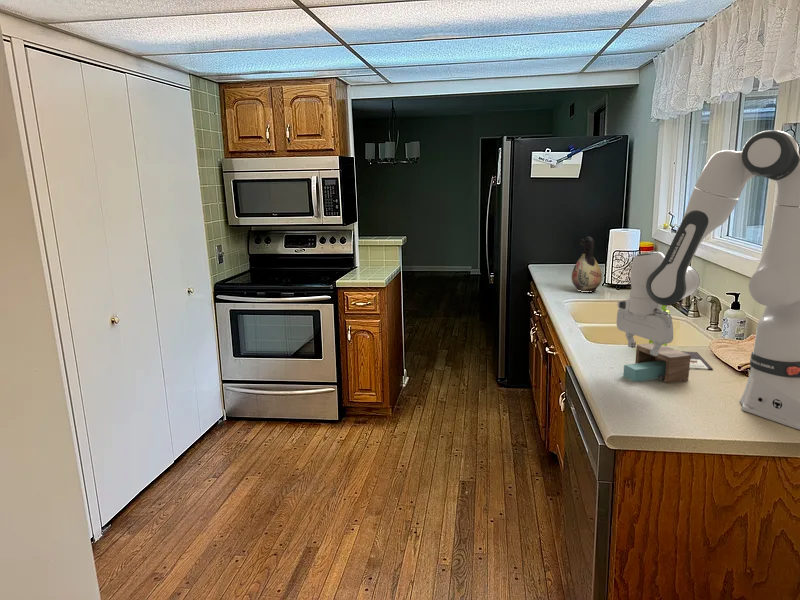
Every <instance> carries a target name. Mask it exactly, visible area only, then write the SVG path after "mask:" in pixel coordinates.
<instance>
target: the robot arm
mask: <svg viewBox="0 0 800 600" xmlns="http://www.w3.org/2000/svg"><path fill="white" fill-rule="evenodd" d="M754 177H762V178H766V179H769V180H771V181H776V184H777V194H776V200H775V206H774V211H773V218H772V224H771V228H770V233H769V237H768V240H767V243H766V246H765V248H764V251H763V253H762V256H761V258H760V261H759V263H758V266H757V267H756V270H755V271H754V273H753V274H752V275H751V277H750V279H749V283H748V291H749V292H748V293H749V294H750V296H751V297H752V299H753V300H754V301H755V302H757V304H759V305H763V306H765V308H764V310H763V313H762V314H761V317H760V318H759V320H758V322H757V325H756V329H755V330H756V332H755V338H754V345H753V350H752V351H751V354H750V359H749V361H750V362H749V366H750V371H749V375H748V379H747V381H746V385H745V388H744V391H743V394H742V395H741V398H740V399H739V402H740V404H741V405H742V406H741V410H742V411H743V412H746V413H750V414H752V415H755V416H758V417H760V418H761V417H762V418H765V419H766V420H770V421H773V422H775V423H778V424H782V425H784V426H788V427H790V428H793V429H796V430H800V144H799V142H798V141H797V140H796V138H794V137H793V136H792V135H791V134H789V133H788V132H785V131H781V130H774V129H770V130H768V129H767V130H763V131H759V132H757V133H755V134H754V135H752V136H751V137H750V138H749V139H748V140H747V141H746V142H745V144H744V146H743V147H742V150H741V151H736V150H733V149H731V150H729V149H728V150H727V149H725V150H720V151H717V152H715V153H713V154H712V155H711V157H709V160H708V161H707V163H706V165H704V168H703V170H702V171H701V173H700V175H699V177H698V179H697V181H696V183H695V186H694V188H693V191H692V193H691V196H690V198H689V201H688V204H687V206H686V210H685V212H684V215H683V218H682V220H681V223H680V225H679V227H678V229H677V231H676V233H675V234H674V237H673V239H672V240H671V244H670V245H669V247H668V250H667V251H666V254H665V255H664V253H662V252H661V251H648V252H647V251H646V252H643V253H638V254H636V255H635V257H633V260H632V263H631V270H630V286H631V287H630V288H631V290H630V292H629V298H628V299H623V300H618V301H617V304H616V305H617V309H618V310H617V312H616V328H617V329H618V331H621V332H624V333H625V338H626V340H627V347H628V348H631V349H635V348H637V341H635V338H634V336H636V337H641V338H644V339H646V340H648V341H649V340H652V341H653V344H654V347H653V349H650V354H651V355H653V356H657V355H658V352H659V349H660V347H661V346H662V344H666V343H667V344H670V343H672V342H673V340H674V322H673V317H672V316H671V313H670V314H669V313H668V312H667V311H662V310H661V305H666V306H667V307H669V306H673V305H675V304H677V303H678V302H680V301H681V300H682V299H684V298H685V299H686V298H687V297H689V296H691V295H693V294H694V293H695V292H696V291H697V290H698V288H699V286H700V275H699V273H698V271H696V269H695V268H694V267H692V266H690V265H691V263H692V261H693V259H694V257H695V255H696V252H697V250H698V248H699V247H700V245H701V243H703V241H704V239H705V238H706V237H708V235H710V233H712V232H713V231H714V230H716V229H717V228H720V226H722V225H723V224H725V223H726V221H727V220H728V219H729V217H730V215H731V214H732V213H733V211H734V209H735V208H736V205H737V203H738V200H739V199H740V197H741V194H742V192H743V190H744V188H745V186H746V184H747V183H748V182H749V181H750V180H751V179H752V178H754ZM668 315H669V316H668Z"/></svg>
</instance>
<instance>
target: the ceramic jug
mask: <svg viewBox="0 0 800 600" xmlns="http://www.w3.org/2000/svg"><path fill="white" fill-rule="evenodd" d="M579 244H581V245H582V246H583V253H582V254H581V256H580V257H579V258H578V260H577V262H576V263H575V265H574V267H573V269H572V272H571V282H572V284H573V286H574V287H575V288H576V290H577V289H578V290H581V291H589V292H590V291H596V292H597V288H599V286H601V285H600V284H601V282H602V280H603V275H602V273H603V272H602V270H601V267H600V265H599V263H598V262H597V260H596V258H595V257H594V250H595V249H594V248H595V241H594V239H593V237H592V236H586V237H585V238H581V239H580V240H579ZM578 290H577V291H578Z"/></svg>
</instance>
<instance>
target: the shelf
mask: <svg viewBox="0 0 800 600" xmlns="http://www.w3.org/2000/svg"><path fill="white" fill-rule="evenodd" d="M653 347H654V344H653V343H649V342H648V343H642V344H636V347H635V348H636V350H635V352H636V353H635V363H644V362H652V361H660V360H662V361H664V362H666V371H665V375H662V376H659V378H658V380H659V381H664V383H666V384H672V383H680V382H688V381H689V376H690V369H689V368H690V358H691V355H689V354H686V353H684V352H681V350H678V349H676V348H672V347H669V346H665V345H662V346H661V347H660V349H659V352H658V355H657V356H653V355H651V354H650V349H653ZM635 363H634V364H635Z"/></svg>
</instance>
